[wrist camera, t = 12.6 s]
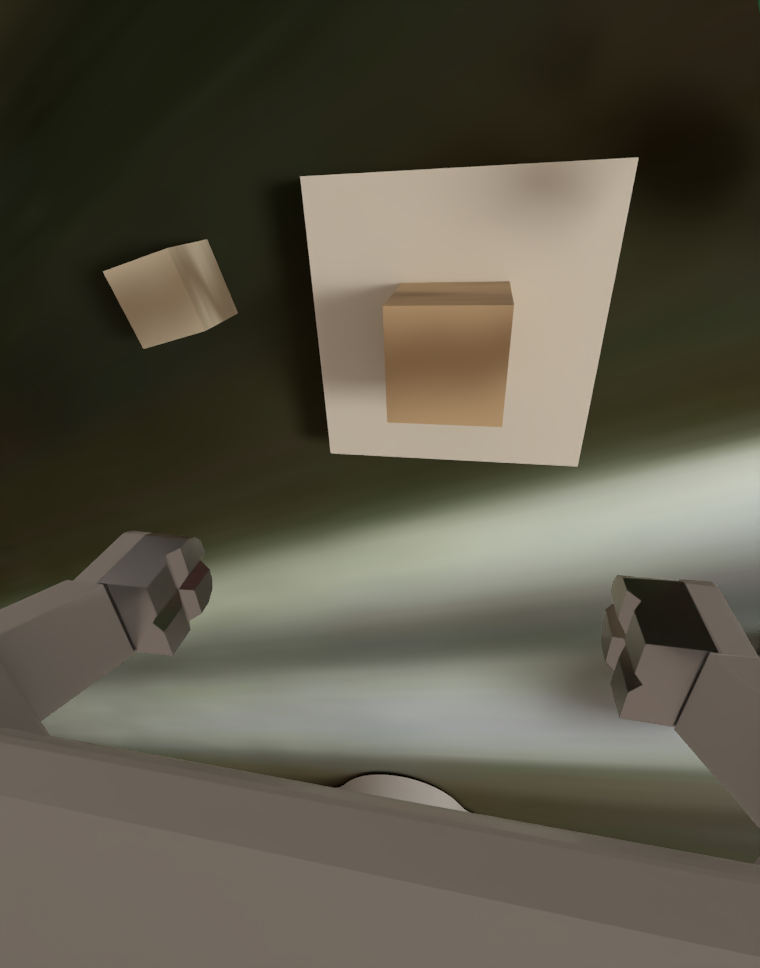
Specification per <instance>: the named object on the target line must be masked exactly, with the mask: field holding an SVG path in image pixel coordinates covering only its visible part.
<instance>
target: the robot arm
mask: <svg viewBox="0 0 760 968" xmlns="http://www.w3.org/2000/svg"><path fill="white" fill-rule="evenodd" d="M203 555H204V550H203V547H202V544H201V541H200V540H198V539H196V538H194V537H187V536H178V535H169V534H160V533H148V532H139V531H129V532H126V533H123V534H122V535H121V536H120V537H119V538H118V539H117V540H116V541H115V542H114V543H113V544H112V545H111V546H109V547H108V548H107V549H106V550H105V551H104V552H103V553H102V554H101V555H100V556H99V557H98V558H97V559H96V560H95V561H94V562H92V563H91V564H90V565H89V566H88V567H87V568H86V569H85V570H84V571H83V572H82V573H81V574H80V575H79V576H78V577H77V578H75V579H74V580H73V581H69V580H66V581H63V582H61V583H59V584H57V585H54V586H52V587H50V588H48V589H45V590H43V591H41V592H39V593H36V594H34V595H32V596H30V597H27V598H25V599H23V600H21V601H19V602H16V603H14V604H12V605H10V606H7V607H5V608H3V609H1V610H0V968H760V857H759V858H758V860H757V861H756V862H755V863H754V864H750V863H745V862H739V861H734V860H728V859H723V858H717V857H712V856H706V855H701V854H695V853H690V852H684V851H679V850H673V849H668V848H662V847H657V846H651V845H646V844H640V843H635V842H629V841H624V840H618V839H613V838H607V837H602V836H596V835H591V834H585V833H580V832H574V831H569V830H563V829H558V828H552V827H547V826H541V825H536V824H530V823H525V822H519V821H514V820H508V819H503V818H497V817H492V816H486V815H481V814H475V813H470V812H468V811H466V810H465V809H464V808H463V807H461V806H460V805H459V804H458V803H457V802H456V801H455V800H454V799H453V798H452V797H450V796H449V795H447V794H446V793H444V792H443V791H441V790H439V789H437V788H435V787H433V786H431V785H428V784H426V783H423V782H420V781H417V780H413V779H410V778H405V777H400V776H393V775H366V776H361V777H357V778H355V779H352V780H350V781H349V782H347V783H346V784H344V785H343V786H341V787H337V788H333V787H327V786H322V785H317V784H311V783H306V782H300V781H295V780H289V779H284V778H278V777H273V776H267V775H262V774H256V773H251V772H245V771H240V770H234V769H229V768H223V767H218V766H213V765H207V764H202V763H196V762H191V761H185V760H180V759H174V758H169V757H163V756H158V755H152V754H147V753H141V752H136V751H130V750H125V749H119V748H114V747H108V746H103V745H97V744H92V743H86V742H81V741H75V740H70V739H64V738H59V737H53V736H50V734H49V733H48V731H47V730H46V728H45V727H44V725H43V724H42V723H41V721H42V720H43V719H45V718H46V717H47V716H49V715H50V714H51V713H53V712H54V711H56V710H57V709H58V708H60V707H61V706H63V705H64V704H65V703H67V702H68V701H70V700H71V699H72V698H74V697H75V696H77V695H78V694H79V693H81V692H82V691H83V690H85V689H86V688H88V687H89V686H90V685H92V684H93V683H95V682H96V681H97V680H99V679H100V678H102V677H103V676H104V675H106V674H107V673H108V672H110V671H111V670H113V669H114V668H115V667H117V666H118V665H120V664H121V663H122V662H124V661H125V660H127V659H128V658H129V657H131V656H132V655H134V651H135V652H144V653H153V654H162V655H172V656H173V655H174V654H175V652H176V651H177V649H178V648H179V646H180V645H181V643H182V642H183V640H184V639H185V637H186V636H187V634H188V633H189V631H190V630H191V629H190V622H189V621H190V620H191V619H193V618H195V617H196V616H198V615H200V614H201V613H202V612H203V610H204V609H205V607H206V606H207V604H208V602H209V599H210V595H211V592H212V577H211V573H210V569H209V568H208V567H207V566H205V565H204V564H203V563H202V562H201V561H200V560H201V558H202V557H203ZM610 593H611V596H612V599H613V603H614V604H612V605H611V606H610V607H608V608H607V609H605V613H604V617H603V621H602V634H601V640H602V649H603V653H604V658H605V662H606V663H607V664H608V665H609V666H610V667H611V668H612V669H613V670H614V674H613V677H612V681H611V686H612V690H613V694H614V698H615V702H616V706H617V710H618V714H619V718H624V719H630V720H636V721H642V722H648V723H654V724H660V725H666V726H672V727H675V729H674V730H675V731H676V732H677V733H678V734H679V735H680V737H681V738H682V739H683V740H684V741H685V742H686V744H687V745H688V746H689V747H690V748H691V749H692V751H693V752H694V753H695V754H696V755H697V756H698V758H699V759H700V760H701V761H702V762H703V763H704V764H705V766H706V767H707V768H708V769H709V770H710V771H711V773H712V774H713V775H714V776H715V777H716V778H717V780H718V781H719V782H720V783H721V784H722V785H723V787H724V788H725V789H726V790H727V791H728V792H729V794H730V795H731V796H732V797H733V798H734V799H735V800H736V802H737V803H738V804H739V805H740V806H741V807H742V809H743V810H744V811H745V812H746V813H747V814H748V816H749V817H750V818H751V819H752V820H753V821H754V823H755V824H756V825H757V826H758V827H759V828H760V658H759V656H758V655H757V653H756V651H755V650H754V648H753V646H752V644H751V643H750V641H749V639H748V638H747V636H746V634H745V632H744V631H743V629H742V627H741V626H740V624H739V622H738V621H737V619H736V617H735V615H734V614H733V612H732V610H731V609H730V607H729V605H728V604H727V602H726V600H725V598H724V597H723V595H722V593H721V592H720V590H719V588H718V586H717V585H715V584H714V583H712V582H707V581H693V580H671V579H659V578H647V577H635V576H623V575H617V576H616V578H615V579H614V581H613V584H612V587H611V591H610Z"/></svg>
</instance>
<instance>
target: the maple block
mask: <svg viewBox="0 0 760 968" xmlns="http://www.w3.org/2000/svg"><path fill="white" fill-rule="evenodd" d="M103 273H104V275H105V277H106V279H107V281H108V283H109V284H110V286H111V288H112V290H113V292H114V294H115V296H116V298H117V300H118V301H119V303H120V305H121V307H122V309H123V311H124V313H125V315H126V317H127V319H128V320H129V322H130V324H131V326H132V328H133V330H134V332H135V334H136V336H137V337H138V339H139V341H140V343H141V345H142V347H143V349H145V348H148V347H152V346H155V345H159V344H162V343H166V342H169V341H173V340H176V339H179V338H183V337H186V336H190V335H193V334H197V333H200V332H203V331H206V330H208V329H210V328H212V327H213V326H215V325H217V324H219V323H221V322H223V321H224V320H226V319H228V318H230V317H232V316H234V315H236V314H237V313H238V312H237V310H236V307H235V305H234V303H233V300H232V298H231V295H230V293H229V291H228V288H227V286H226V283H225V281H224V279H223V276H222V274H221V271H220V269H219V267H218V264H217V262H216V259H215V257H214V255H213V252H212V250H211V247H210V245H209V243H208V240H207V239H206V240H202V241H197V242H193V243H188V244H183V245H179V246H174V247H170V248H166V249H163V250H161V251H158V252H155V253H152V254H150V255H147V256H144V257H141V258H139V259H136V260H133V261H130V262H128V263H125V264H122V265H119V266H117V267H114V268H111V269H109V270H106V271H103Z"/></svg>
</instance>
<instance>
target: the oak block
mask: <svg viewBox="0 0 760 968" xmlns="http://www.w3.org/2000/svg"><path fill="white" fill-rule="evenodd" d="M513 311H514V302H513V297H512V291H511V286H510V281H501V282H427V283H401V284H400V286H399V287H398V288H397V289H396V290H395V292H394V293H393V294H392V295H391V296H390V297H389V299H388V300H387V301H386V302H385V303H384V305H383V330H384V355H385V380H386V406H387V422H388V423H413V424H437V425H462V426H487V427H502V423H503V413H504V403H505V393H506V383H507V372H508V362H509V352H510V342H511V332H512V321H513Z"/></svg>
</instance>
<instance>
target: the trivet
mask: <svg viewBox="0 0 760 968" xmlns="http://www.w3.org/2000/svg"><path fill="white" fill-rule="evenodd" d="M638 159H639V157H636V158H618V159H600V160H583V161H565V162H547V163H530V164H512V165H494V166H477V167H459V168H441V169H424V170H406V171H388V172H371V173H353V174H335V175H318V176H300V180H301V189H302V198H303V207H304V216H305V225H306V234H307V243H308V252H309V261H310V270H311V279H312V288H313V297H314V306H315V315H316V324H317V333H318V342H319V351H320V360H321V369H322V378H323V388H324V397H325V406H326V415H327V424H328V433H329V442H330V451H331V453H335V454H353V455H372V456H391V457H409V458H428V459H447V460H465V461H484V462H503V463H521V464H540V465H559V466H577V467H578V462H579V457H580V452H581V447H582V442H583V437H584V432H585V427H586V422H587V417H588V412H589V406H590V401H591V396H592V391H593V386H594V381H595V376H596V371H597V366H598V361H599V356H600V351H601V346H602V341H603V336H604V331H605V326H606V321H607V316H608V310H609V305H610V300H611V295H612V290H613V285H614V280H615V275H616V270H617V265H618V260H619V255H620V250H621V245H622V240H623V235H624V230H625V225H626V220H627V215H628V209H629V204H630V199H631V194H632V189H633V184H634V179H635V174H636V169H637V164H638ZM501 281H510V286H511V291H512V297H513V302H514V311H513V321H512V332H511V342H510V352H509V362H508V372H507V383H506V393H505V403H504V413H503V423H502V427H487V426H462V425H437V424H413V423H388V422H387V406H386V380H385V355H384V330H383V305H384V303H385V302H386V301H387V300H388V299H389V297H390V296H391V295H392V294H393V293H394V292H395V290H396V289H397V288H398V287H399V286H400V284H401V283H427V282H501Z"/></svg>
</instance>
